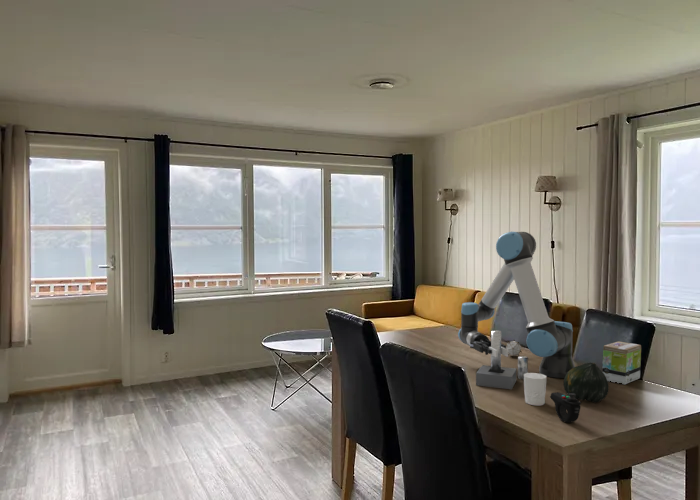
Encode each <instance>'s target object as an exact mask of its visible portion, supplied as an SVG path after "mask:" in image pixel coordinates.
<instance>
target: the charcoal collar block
mask: <svg viewBox="0 0 700 500" xmlns="http://www.w3.org/2000/svg"><path fill="white" fill-rule="evenodd" d="M516 382H517V367H516V368H515V367H508V366H507V367H505V366H501V373H495V372H491V365H487V364H482V365H481V366H480V368H478V370H477V371H476V372H475V385H476V386H479V387H488V388H497V389H506V390H513V387H514V386H515V383H516Z"/></svg>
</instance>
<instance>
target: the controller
mask: <svg viewBox="0 0 700 500" xmlns="http://www.w3.org/2000/svg"><path fill="white" fill-rule="evenodd" d="M569 395H570V396H569ZM569 395H567V394H564V393H562V392H551V393H550V396H549V399H551V401H553V403H554V409H555V413H556V415H557V417H558V418H559V419H560V420H561V421H562V422H564V423H574V422H576V421H577V420H578V419H579V416H580V411H581V404H582V402H581V401H580V400H579V399H576V398H575V397H574V396H575V395H576V394H574V393H569Z"/></svg>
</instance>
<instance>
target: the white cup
mask: <svg viewBox="0 0 700 500" xmlns="http://www.w3.org/2000/svg"><path fill="white" fill-rule="evenodd" d="M547 377H548V376H545V375H543V374H541V373H538V372H537V373H536V372H528V373H526V374H524V380H523V391H524V392H523V393H524V402H525V404H528V405H530V406H531V405H532V406H539V407H540V406H544V405H545V403H546V402H545V401H546V391H547Z"/></svg>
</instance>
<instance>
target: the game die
mask: <svg viewBox="0 0 700 500" xmlns="http://www.w3.org/2000/svg"><path fill="white" fill-rule="evenodd" d="M505 346H506V349H507V350H508V356H511V357H515V356H520V353H523V351H522V348H523V347H524V346H523V345H520V342H519V341H515V339H513V340H512V341H509V340H507V344H505Z"/></svg>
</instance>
